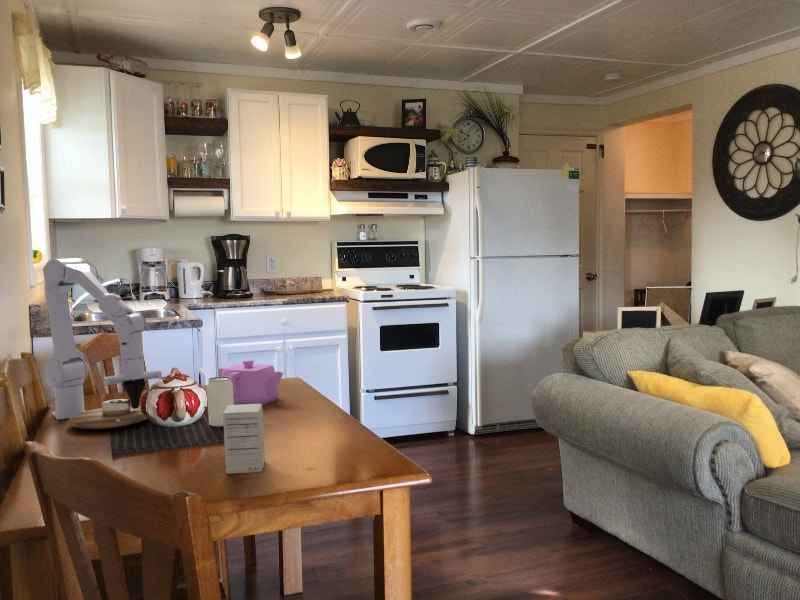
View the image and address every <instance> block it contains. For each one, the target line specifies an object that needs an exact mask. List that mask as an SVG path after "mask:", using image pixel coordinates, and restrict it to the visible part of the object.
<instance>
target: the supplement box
mask: <svg viewBox="0 0 800 600" xmlns="http://www.w3.org/2000/svg"><path fill="white" fill-rule="evenodd" d="M223 423H224V427H223V439H224V457H225V472H226V474H247V473H248V474H249V473H261V472H263V468H264V466H265V462H266V456H265V455H266V454H265V453H266V451H265V433H264V415H263V405H262V404H242V405H228V406H227V408H226V410H225V411H224V413H223Z"/></svg>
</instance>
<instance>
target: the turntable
mask: <svg viewBox="0 0 800 600" xmlns="http://www.w3.org/2000/svg"><path fill="white" fill-rule="evenodd" d="M130 410H131V413H129V414H127V415H123V416H117V417H104V416H102V407H100V408H94V409H89V410H85V412H81V413H78V414H76V415H73V416H72V417H70V418H68V421H69V423H68V424H69V426H71V427H73V428H76V429H84V430H85V429H88V430H93V429H98V428H110V427H118V426H124V425H129V424H131V425H133V424H136V423H139V422H143V421H146V420H148V418H147V417H146V415H144V414H143V413H142V412H141V409H140V405H139V408H136V409H133V408H132V406H131V405H130ZM129 426H130V425H129Z"/></svg>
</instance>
